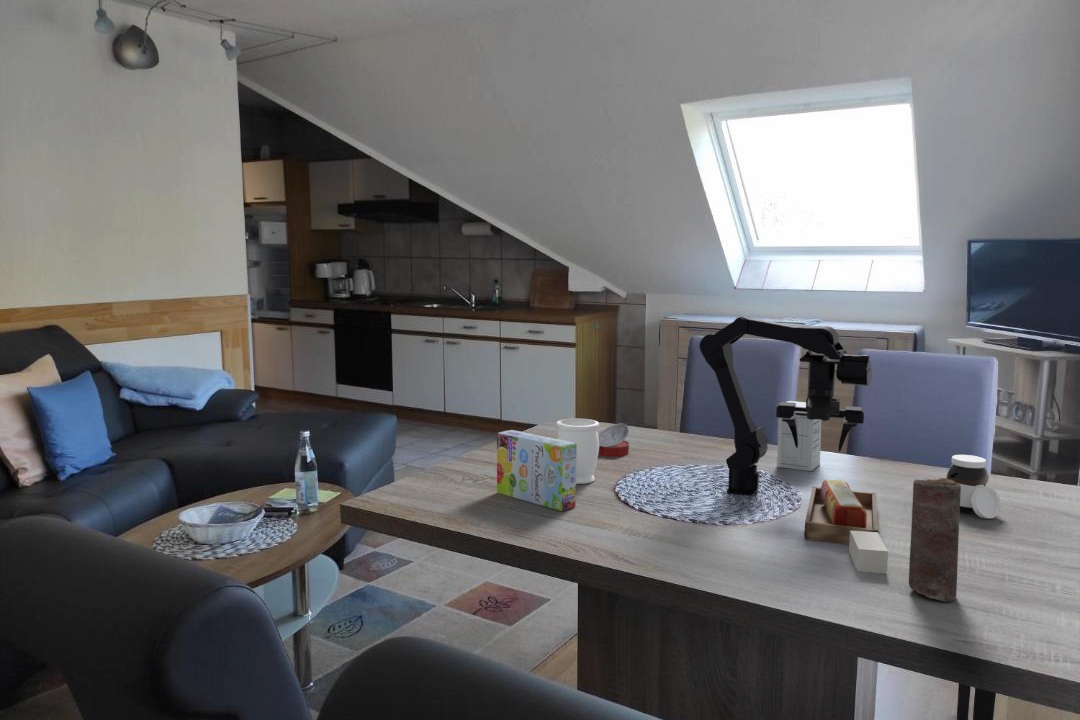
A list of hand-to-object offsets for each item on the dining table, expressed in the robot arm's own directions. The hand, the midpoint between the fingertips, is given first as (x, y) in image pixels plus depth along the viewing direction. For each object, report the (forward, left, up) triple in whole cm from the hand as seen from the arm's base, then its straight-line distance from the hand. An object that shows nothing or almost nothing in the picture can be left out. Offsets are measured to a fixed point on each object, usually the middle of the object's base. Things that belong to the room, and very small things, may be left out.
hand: (818, 449), depth 186 cm
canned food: (-57, +27, -13) cm, 64 cm away
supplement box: (-6, +32, -13) cm, 35 cm away
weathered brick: (+21, -46, -13) cm, 52 cm away
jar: (-57, -3, -13) cm, 58 cm away
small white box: (+11, -35, -13) cm, 39 cm away
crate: (+6, -13, -12) cm, 19 cm away
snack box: (-61, -22, -13) cm, 66 cm away
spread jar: (+33, +6, -13) cm, 36 cm away
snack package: (+6, -13, -12) cm, 19 cm away
